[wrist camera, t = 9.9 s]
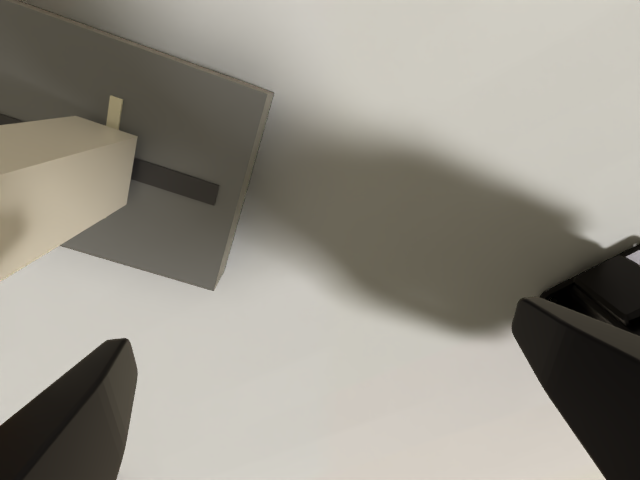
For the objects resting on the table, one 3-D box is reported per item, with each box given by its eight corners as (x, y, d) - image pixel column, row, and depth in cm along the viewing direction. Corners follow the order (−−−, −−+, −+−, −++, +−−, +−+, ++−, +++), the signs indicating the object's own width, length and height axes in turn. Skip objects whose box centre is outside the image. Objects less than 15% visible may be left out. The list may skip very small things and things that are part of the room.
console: (274, 92, 19) (267, 94, 16) (224, 270, 22) (212, 292, 20) (-81, -36, 17) (-146, -55, 15) (-74, 180, 20) (-125, 192, 18)
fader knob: (140, 134, 17) (-96, 199, 7) (128, 207, 18) (-88, 343, 8) (73, 112, 16) (-263, 150, 7) (65, 187, 18) (-231, 306, 8)
